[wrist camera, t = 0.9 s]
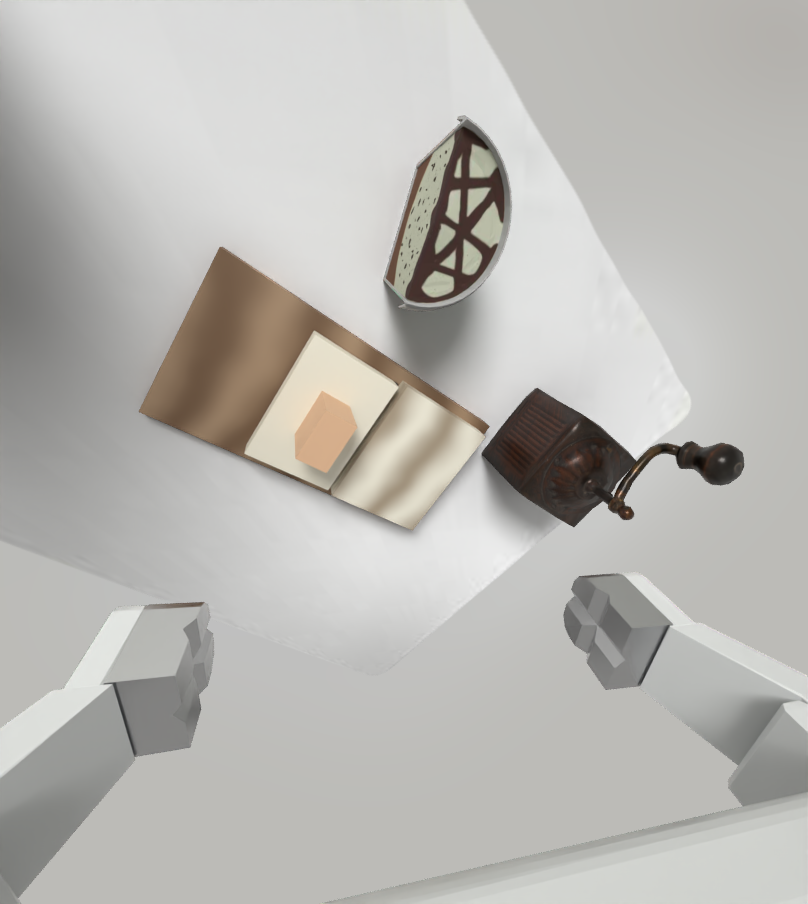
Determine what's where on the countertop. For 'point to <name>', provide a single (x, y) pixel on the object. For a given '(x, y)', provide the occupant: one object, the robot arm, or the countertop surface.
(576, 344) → the countertop surface
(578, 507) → the manual coffee grinder
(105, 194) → the countertop surface
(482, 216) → the food container
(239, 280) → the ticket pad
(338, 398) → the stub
